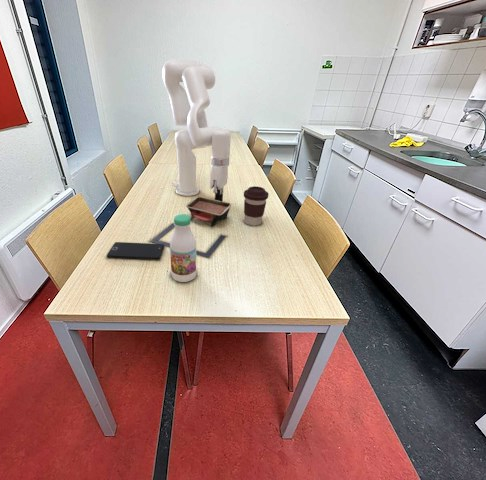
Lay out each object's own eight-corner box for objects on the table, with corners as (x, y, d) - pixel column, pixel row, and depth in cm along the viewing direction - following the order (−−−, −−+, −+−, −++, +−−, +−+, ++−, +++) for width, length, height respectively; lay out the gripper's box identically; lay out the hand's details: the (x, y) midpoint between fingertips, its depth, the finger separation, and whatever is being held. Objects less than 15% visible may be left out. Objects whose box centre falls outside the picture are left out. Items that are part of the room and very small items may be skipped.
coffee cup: (265, 219, 119) (270, 186, 111) (262, 229, 111) (267, 195, 103) (243, 215, 122) (247, 183, 114) (238, 225, 114) (241, 191, 106)
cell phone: (115, 244, 99) (115, 241, 98) (164, 246, 98) (164, 243, 97) (106, 257, 91) (106, 255, 90) (159, 260, 90) (159, 257, 90)
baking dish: (215, 235, 110) (220, 213, 105) (180, 218, 116) (183, 197, 111) (231, 224, 121) (236, 204, 116) (198, 209, 128) (202, 189, 122)
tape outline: (150, 241, 101) (150, 241, 101) (172, 223, 114) (172, 223, 114) (208, 257, 93) (208, 257, 93) (225, 236, 106) (225, 236, 105)
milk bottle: (171, 267, 87) (168, 211, 77) (195, 267, 88) (195, 211, 78) (171, 283, 81) (167, 223, 70) (196, 282, 81) (197, 223, 71)
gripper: (218, 156, 121) (217, 195, 131) (204, 164, 110) (204, 206, 119) (234, 158, 119) (231, 197, 128) (222, 166, 107) (220, 209, 116)
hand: (218, 201), depth 123 cm, fingers closed
